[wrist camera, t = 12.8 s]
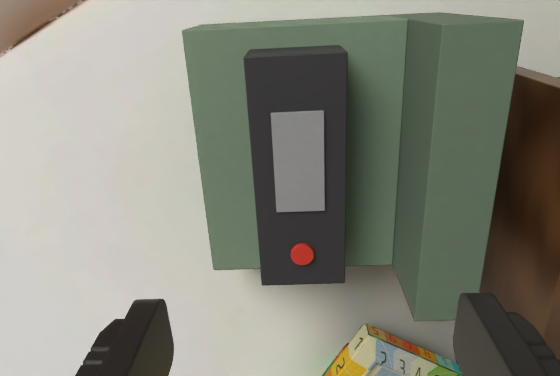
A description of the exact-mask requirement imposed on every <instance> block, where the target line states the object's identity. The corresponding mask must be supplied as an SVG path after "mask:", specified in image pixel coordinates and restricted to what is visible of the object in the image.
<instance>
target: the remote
mask: <svg viewBox="0 0 560 376" xmlns="http://www.w3.org/2000/svg"><path fill="white" fill-rule="evenodd" d="M243 59H244V72H245V84H246V96H247V109H248V121H249V133H250V146H251V158H252V170H253V182H254V195H255V207H256V219H257V232H258V244H259V256H260V269H261V281H262V285H295V284H330V283H345V234H346V150H347V65H348V52H347V51H346V50H345V49H344V48H343V47H342V46H340V45H327V46H307V47H287V48H268V49H250V50H249V51H248V52H247V53H246V55H245V56H244V58H243Z"/></svg>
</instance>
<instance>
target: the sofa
mask: <svg viewBox="0 0 560 376" xmlns="http://www.w3.org/2000/svg"><path fill="white" fill-rule="evenodd" d="M523 24H524V20H517V19H506V18H495V17H483V16H472V15H461V14H450V13H419V14H400V15H381V16H362V17H342V18H323V19H304V20H284V21H265V22H246V23H226V24H207V25H199V26H196V27H192V28H189V29H186V30H183V31H182V36H183V43H184V51H185V58H186V66H187V74H188V81H189V89H190V96H191V104H192V112H193V119H194V127H195V134H196V142H197V149H198V157H199V165H200V172H201V180H202V187H203V195H204V202H205V210H206V218H207V225H208V233H209V240H210V248H211V256H212V263H213V269H214V270H234V269H260V256H259V244H258V232H257V219H256V207H255V195H254V182H253V170H252V158H251V146H250V133H249V121H248V109H247V96H246V84H245V72H244V59H243V58H244V56H245V55H246V53H247V52H248V51H249V50H250V49H268V48H287V47H307V46H327V45H340V46H342V47H343V48H344V49H345V50H346V51H347V52H348V65H347V150H346V234H345V266H371V265H392V264H393V267H394V269H395V272H396V274H397V277H398V280H399V282H400V285H401V287H402V290H403V293H404V295H405V298H406V300H407V303H408V305H409V308H410V311H411V313H412V316H413V318H414V321H442V320H456V314H457V307H458V300H459V297H460V295H461V294H462V293H479V290H480V284H481V278H482V272H483V266H484V260H485V254H486V248H487V242H488V236H489V230H490V224H491V217H492V211H493V205H494V199H495V193H496V187H497V181H498V175H499V169H500V163H501V157H502V151H503V145H504V139H505V133H506V127H507V121H508V114H509V108H510V102H511V96H512V90H513V84H514V78H515V72H516V66H517V60H518V54H519V48H520V42H521V36H522V30H523Z"/></svg>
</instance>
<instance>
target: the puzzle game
mask: <svg viewBox="0 0 560 376" xmlns="http://www.w3.org/2000/svg"><path fill="white" fill-rule="evenodd" d="M322 376H463V374H462V372H461V370H460V368H459V365H458V364H457V363H455V362H453V361H450V360H448V359H446V358H444V357H441V356H439V355H437V354H435V353H432V352H430V351H428V350H425V349H423V348H421V347H419V346H416V345H414V344H412V343H410V342H407V341H405V340H403V339H400V338H398V337H396V336H394V335H391V334H389V333H387V332H385V331H382V330H380V329H378V328H375V327H373V326H371V325H369V324H365V325H363V326H362V327H361V328H360V330H359V331H358V333H357V334H356V335H355V337H354V338H353V339H352V340H351V342H350V343H347V344H346V345H345V346H344V347H343V349H342V350H341V351H340V353H339V354H338V355H337V356H336V358H335V359H334V360H333V362H332V363H331V364H330V366H329V367H328V368H327V370H326V371H325V372H324V374H323V375H322Z"/></svg>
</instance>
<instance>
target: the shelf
mask: <svg viewBox="0 0 560 376" xmlns="http://www.w3.org/2000/svg"><path fill="white" fill-rule="evenodd" d="M479 292H480V293H488V292H490V293H493V294H494V295H495V297H496V298H497V299H498V301H499V302H500V304H501V305H502V307H503V308H504V310H505V311H506V312H516V313H518V314H519V315H520V316H522V317H523V318H524V319H526V320H527V321H528V322H530V323H531V324H532V325H534V327H535V328H536V329H537V331H538V332H539V333H540V335H541V336H542V338H543V339H544V340H545V342H546V345H548V346H549V347H550V349H551V350H552V351H553V353H554V354H555V355H556V359H559V361H560V77H557V78H556V77H552V76H549V75H545V74H542V73H539V72H535V71H532V70H528V69H525V68H522V67H518V66H516V72H515V78H514V84H513V90H512V96H511V102H510V108H509V114H508V121H507V127H506V133H505V139H504V145H503V151H502V157H501V163H500V169H499V175H498V181H497V187H496V193H495V199H494V205H493V211H492V217H491V224H490V230H489V236H488V242H487V248H486V254H485V260H484V266H483V272H482V278H481V284H480V290H479Z"/></svg>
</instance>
